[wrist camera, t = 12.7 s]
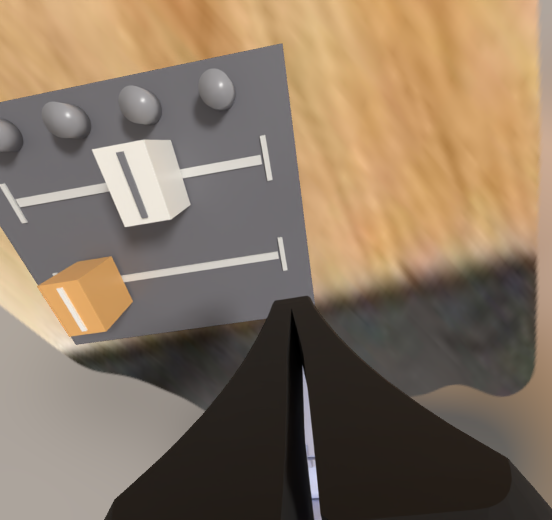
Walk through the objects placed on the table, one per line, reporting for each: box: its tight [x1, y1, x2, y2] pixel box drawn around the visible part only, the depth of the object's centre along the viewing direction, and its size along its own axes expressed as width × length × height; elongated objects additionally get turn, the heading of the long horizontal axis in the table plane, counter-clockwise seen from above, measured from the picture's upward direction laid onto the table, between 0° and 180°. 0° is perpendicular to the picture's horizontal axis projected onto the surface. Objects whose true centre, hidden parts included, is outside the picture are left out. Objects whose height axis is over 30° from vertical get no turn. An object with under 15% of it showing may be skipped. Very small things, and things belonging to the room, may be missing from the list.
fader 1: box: [37, 256, 133, 337], centre depth 16 cm, size 4×2×3 cm, turn 9°
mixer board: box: [0, 44, 315, 345], centre depth 17 cm, size 16×19×3 cm
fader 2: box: [92, 140, 191, 227], centre depth 13 cm, size 4×2×3 cm, turn 9°
